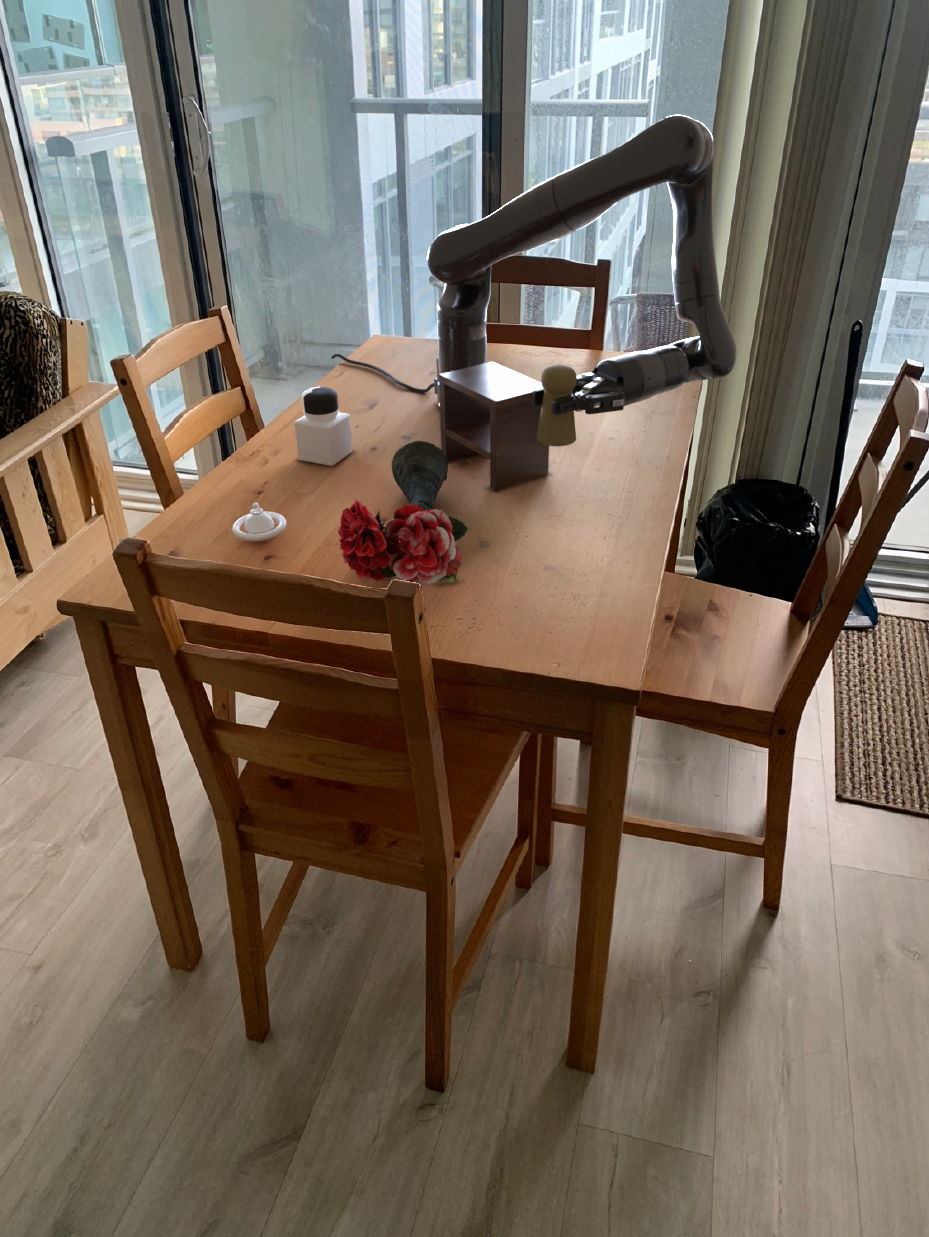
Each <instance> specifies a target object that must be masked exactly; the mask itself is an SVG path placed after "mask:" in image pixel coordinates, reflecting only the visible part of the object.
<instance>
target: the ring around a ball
mask: <svg viewBox="0 0 929 1237" xmlns="http://www.w3.org/2000/svg"><path fill="white" fill-rule="evenodd" d="M251 507H252V508H251V509H250V511H249V513H248V514H246V515H243V516H241V517H239V518H238V519H237V520H236V521H235V522H234V523H233V525H232V534H233V535H234V536H235V537H236V538H237V539H239V540H241V541H245V542H262V541H263V542H264V541H268V540H270V539H274V538H276V537H278V536H280V535H281V534H282V533H283V532H284V531H285V530H286V528H287V520H286V518H285V517H284V516H283V515H282V514H280V513H278V512H274V511H264V509H263V508H262V507H260V504H259V503H258V502H253V503H252V506H251ZM274 521H277V522H274ZM243 525H244V531H245V532H243V531H241V530H240V529H241V527H242V526H243ZM275 526H276V527H275Z"/></svg>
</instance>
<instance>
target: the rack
mask: <svg viewBox="0 0 929 1237" xmlns="http://www.w3.org/2000/svg"><path fill="white" fill-rule="evenodd" d="M541 388H543V387H542V383H541V381H538V380H536V379H534V378H532V377H529V376H527V375H524V374H523V373H520V372H517V371H515V370H513V369H510V368H509V367H506V366H503V365H501V364H499V363H498V362H497V363H496V362H495V361H489V362H487V363H484V364H480V365H476V366H472V367H468V368H464V369H460V370H455V371H451V372H447V373H443V374H439V398H440V408H439V425H440V429H439V430H440V449H441V450H442V451H443V453H444V455H445V456H446V457H449V463H450V462H453V461H456V460H459V459H463V458H466V457H469V456H473V455H475V454H479V455H481V456H483V457H484V458H486V459H488V460H489V489H491V490H493V491H494V492H499V491H502V490H505V489H507V488H511V487H513V486H517V485H521V484H523V483H526V482H529V481H533V480H536V479H539V478H542V477H545V476H548V475H549V464H550V463H549V461H550V446H548V445H544V444H542V443H540V442H538V440H537V432H538V426H539V420H540V414H541V408H542V405H538V406H535V405H533V404H532V392H533V391H534V390H537V389H541Z"/></svg>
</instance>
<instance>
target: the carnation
mask: <svg viewBox="0 0 929 1237" xmlns="http://www.w3.org/2000/svg"><path fill="white" fill-rule="evenodd" d="M449 464H450V462H449V457H446V456H445V455H444V453H443V451H442V450H441V447H439V446H437V445H436V444H434V443H432V442H429V441H425V440H414V441H411V442H408V443H406V444H405V445H402V446H401V447H399V448H398V449H397V450H396V451H395V452H394V454H393V457H392V460H391V473H392V477H393V479H394V482H395V483H396V484H397V486H398V488H399V489H400V491H401V492H402V494H403V495H404V497H405V498H406V499H407V502H409V504H402V505H401V506H400V507H398V508H397V509H396V510H395V511H394V513H393V518H392V519H390V520H389V521H388V522H387V523H386V522H383V523H382V518H381V506H380V508H379V509H378V512H377V513H376V515H374V514H372V513H371V511H370V510H369V509H368V508H367V506H366V505H364V504H363V503H362V502H361V501H360V500H358V499H357V498H355V500H354V503H353V504H351V505H350V507H346V508H344V509H343V510H342V513H341V516H340V526H339V529H337V530H338V531H337V532H338V533H337V534H338V535H339V539H338V541H339V543H340V544H339V547H340V548H339V549H340V550H341V551H342V558H343V559H342V560H343V563H344V564H347V567H349V569H350V570H351V571H352V570H353V571H355V574H356V576H357V577H358V579H365V578H369V579H372V580H374V581H375V582H379V581H381V580H382V581H383V580H387V579H391V578H394V577H397V578H398V579H401V580H402V581H403V580H406V581H410V582H416V583H419V584H420V585H421V586H425V585H429V584H431V585H432V584H434V583H436V582H439V583H445V584H446V583H447V584H450V583H456V582H457V578H458V574H459V573H458V572H459V569H460V568H461V565H462V563H463V562H462V561H463V559H462V554H461V550H460V549H459V547H458V546H457V545H456V542H458V541H459V540H461V539H462V538H463V537H464V536H465V535H466V533H467V532H468V531H469V530H468V529H469V528H468V526H467V525H466V524H465V523H464V522H463V521H461V520H460V519H458V518H456V517H453V516H448V514H446V513H445V512H444V509H437V508H434V504H435V501H436V499H437V497H438V494H439V492H440V490H441V489H442V487H443V485H444V482H445V481H447V479H448V474H449ZM385 524H386V525H385ZM384 525H385V526H384Z"/></svg>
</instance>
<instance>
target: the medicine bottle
mask: <svg viewBox="0 0 929 1237" xmlns="http://www.w3.org/2000/svg"><path fill="white" fill-rule="evenodd" d="M338 396H339V395H338V392H337V390H336V389H335V388H332V387H328V386H314V387H313V386H312V387H309V388H308V389H306V390H304V391H303V392H302V394H301V404H302V409H303V416H302V417H299V418H298V419H297V420H294V422H293V426H294V434H295V442H296V451H297V458H298V460H299V461H303V462H308V463H313V464H319V465H324V466H329V467H333V466H335V465H336V464H338V463H339V462H340V461H342V460H343V459H345V458H346V457H347V456H348V455H351V453H353V451H354V449H353V437H352V426H351V424H352V423H351V416H350V414H349V413H345V412H340V408H339V406H340V405H339V397H338Z"/></svg>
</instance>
